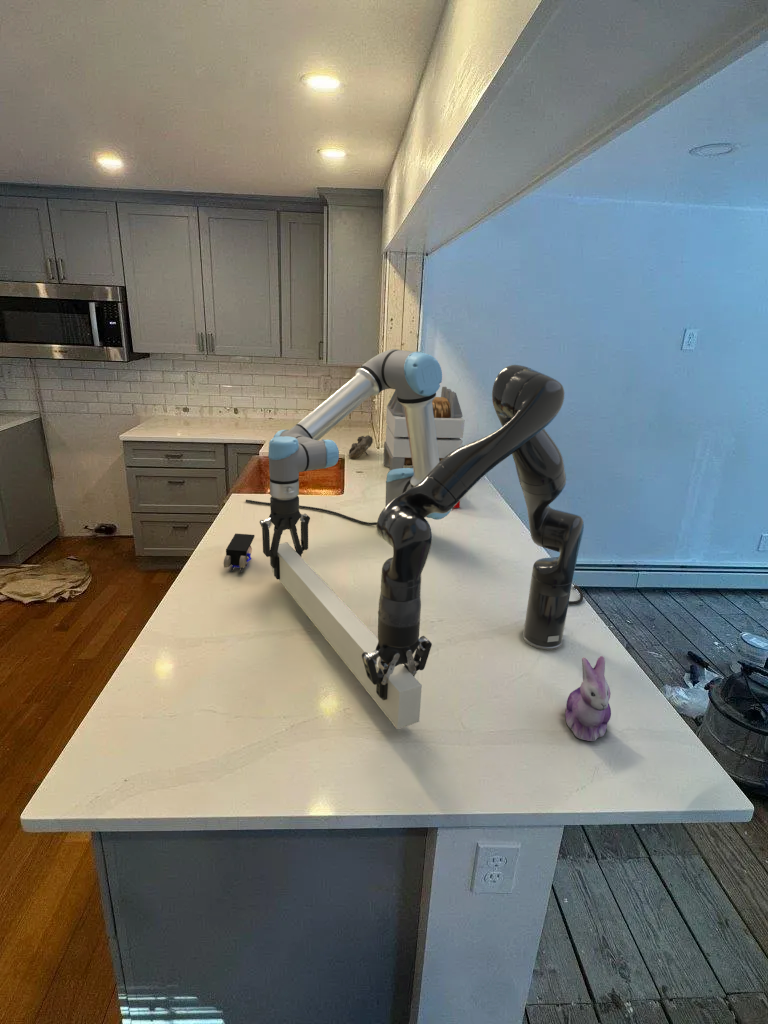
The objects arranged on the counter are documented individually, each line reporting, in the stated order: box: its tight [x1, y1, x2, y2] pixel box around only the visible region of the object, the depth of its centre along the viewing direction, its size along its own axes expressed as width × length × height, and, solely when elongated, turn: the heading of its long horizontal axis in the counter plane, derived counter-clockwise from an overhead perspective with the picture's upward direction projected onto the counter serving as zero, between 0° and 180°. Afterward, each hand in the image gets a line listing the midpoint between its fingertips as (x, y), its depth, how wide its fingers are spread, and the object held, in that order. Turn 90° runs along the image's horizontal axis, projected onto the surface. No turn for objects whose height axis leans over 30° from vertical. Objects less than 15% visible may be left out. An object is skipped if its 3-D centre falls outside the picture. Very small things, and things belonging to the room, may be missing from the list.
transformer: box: [383, 386, 465, 471], centre depth 268 cm, size 34×33×41 cm
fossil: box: [348, 435, 374, 460], centre depth 302 cm, size 22×10×15 cm
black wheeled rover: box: [223, 533, 255, 573], centre depth 170 cm, size 7×8×15 cm
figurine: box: [564, 655, 612, 742], centre depth 107 cm, size 9×10×15 cm
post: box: [271, 542, 423, 730], centre depth 131 cm, size 71×5×8 cm, turn 29°
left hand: (286, 575), depth 157 cm, fingers closed on post, 5 cm apart
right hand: (395, 692), depth 107 cm, fingers closed on post, 4 cm apart
